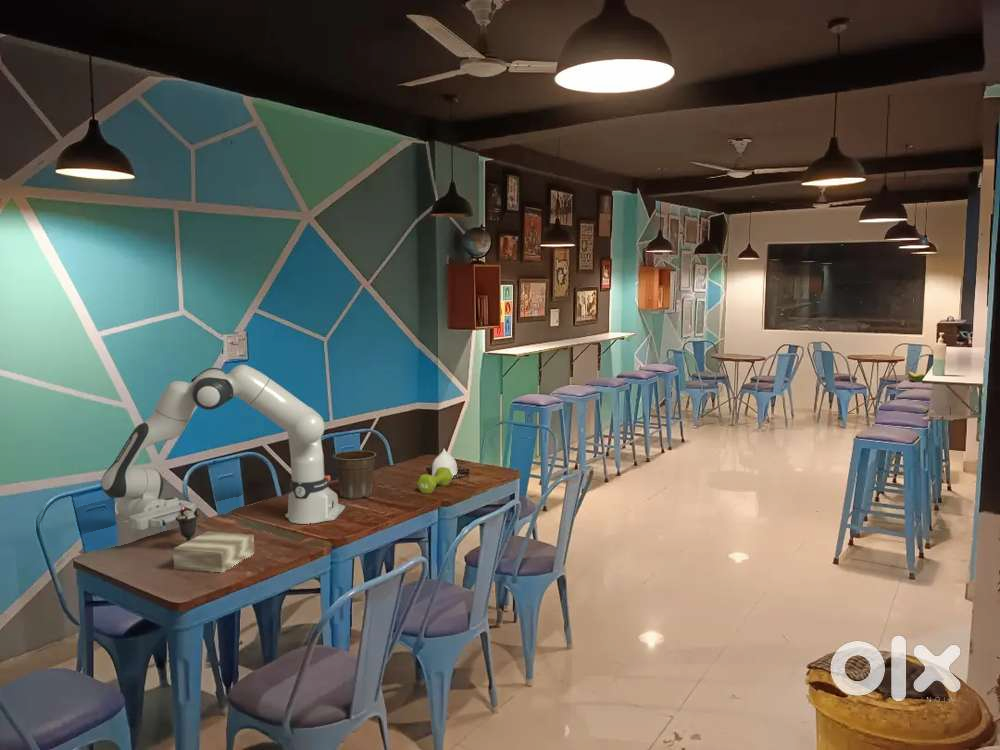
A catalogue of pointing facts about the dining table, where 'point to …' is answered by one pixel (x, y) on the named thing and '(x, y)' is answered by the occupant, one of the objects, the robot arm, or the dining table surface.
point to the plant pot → (355, 473)
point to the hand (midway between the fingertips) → (177, 519)
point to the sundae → (187, 522)
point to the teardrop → (445, 463)
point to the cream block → (213, 551)
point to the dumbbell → (434, 480)
